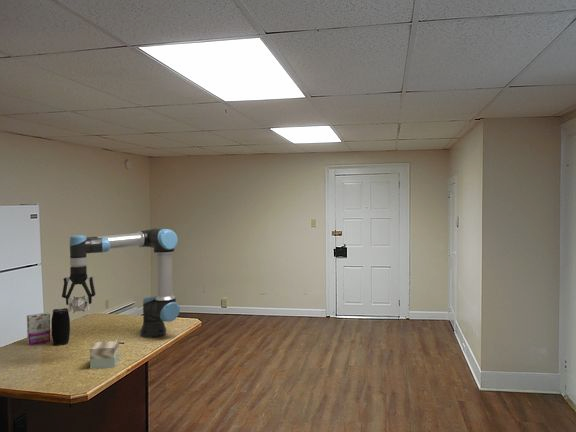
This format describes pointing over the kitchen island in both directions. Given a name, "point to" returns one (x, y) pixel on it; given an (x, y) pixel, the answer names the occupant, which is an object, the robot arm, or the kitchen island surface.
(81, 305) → the game die
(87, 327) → the kitchen island surface
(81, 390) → the kitchen island surface
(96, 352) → the upper block
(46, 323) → the candy bar box
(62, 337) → the portable speaker
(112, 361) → the lower block
